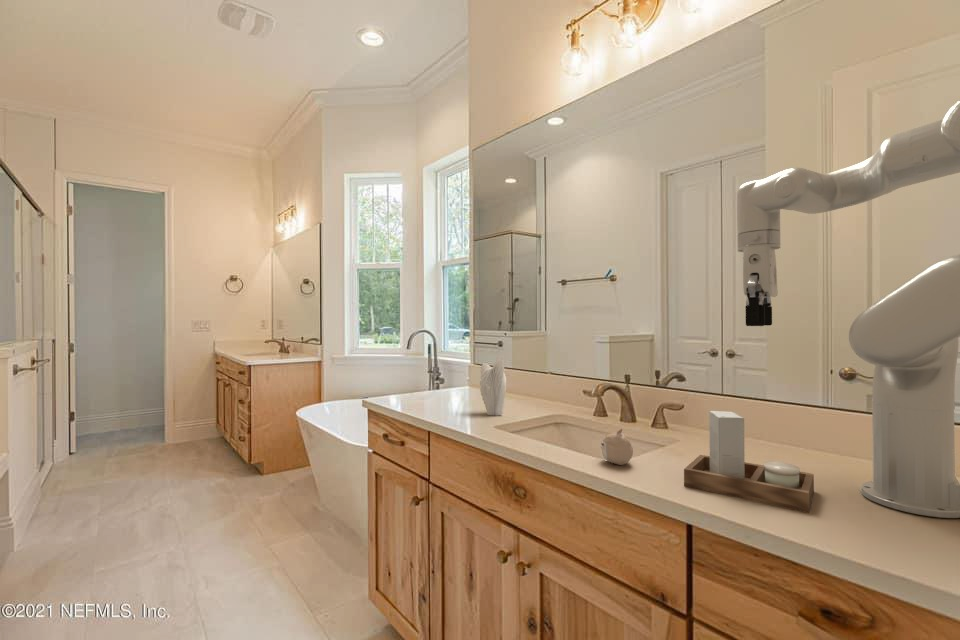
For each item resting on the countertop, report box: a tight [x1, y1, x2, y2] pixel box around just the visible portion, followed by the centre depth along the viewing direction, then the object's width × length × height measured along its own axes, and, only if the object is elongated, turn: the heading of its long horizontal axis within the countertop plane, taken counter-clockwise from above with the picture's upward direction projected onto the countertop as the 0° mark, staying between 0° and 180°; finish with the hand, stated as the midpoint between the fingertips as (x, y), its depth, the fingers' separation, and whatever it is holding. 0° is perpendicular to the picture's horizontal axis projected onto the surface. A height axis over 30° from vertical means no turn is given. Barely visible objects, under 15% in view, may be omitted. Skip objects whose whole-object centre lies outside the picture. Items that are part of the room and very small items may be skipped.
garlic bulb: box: [600, 428, 634, 466], centre depth 94 cm, size 7×6×8 cm
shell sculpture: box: [479, 358, 507, 417], centre depth 143 cm, size 8×8×18 cm
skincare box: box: [708, 410, 745, 479], centre depth 81 cm, size 6×4×12 cm
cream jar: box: [763, 461, 801, 489], centre depth 76 cm, size 5×5×4 cm
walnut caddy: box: [683, 454, 815, 513], centre depth 79 cm, size 18×11×3 cm, turn 50°
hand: (759, 325), depth 93 cm, fingers open, 9 cm apart
